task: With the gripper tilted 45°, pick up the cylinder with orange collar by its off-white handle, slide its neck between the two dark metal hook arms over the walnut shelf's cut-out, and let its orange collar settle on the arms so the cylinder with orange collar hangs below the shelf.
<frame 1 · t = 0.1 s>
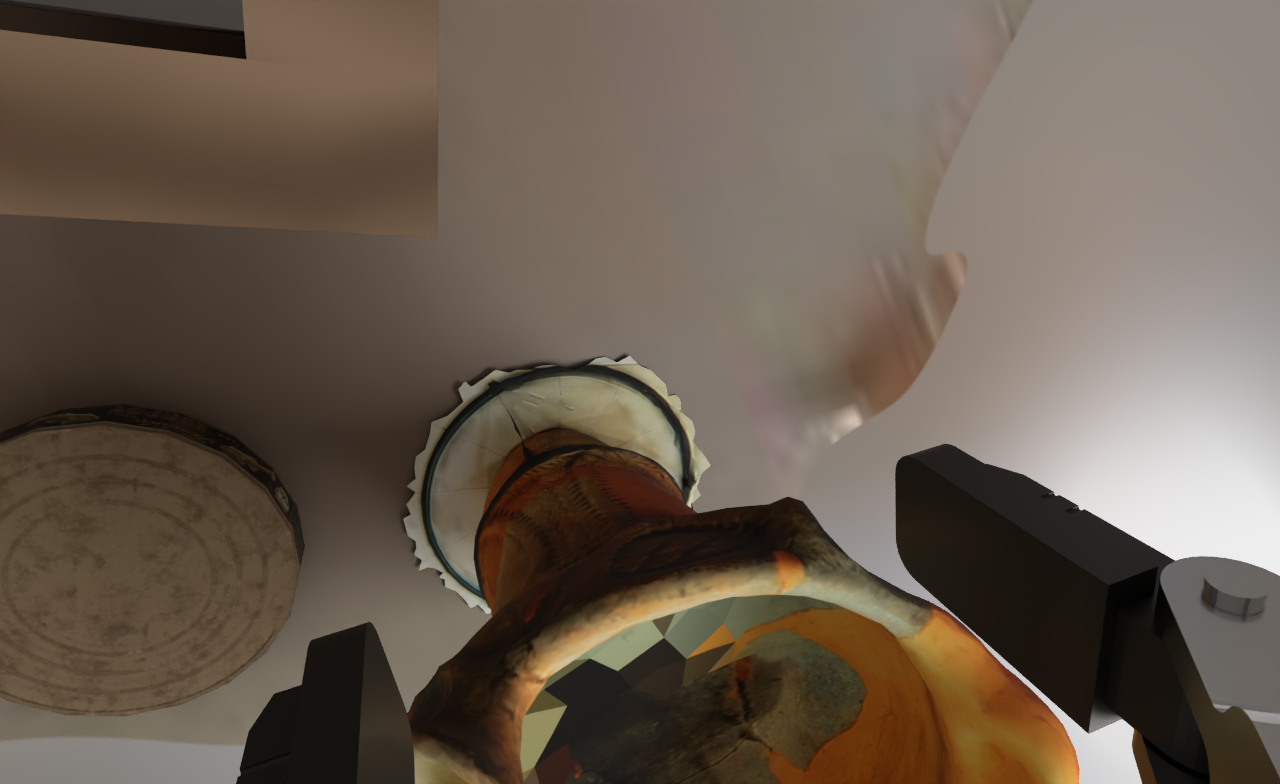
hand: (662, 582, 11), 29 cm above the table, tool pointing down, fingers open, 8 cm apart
decorative vase: (565, 492, 43), on the table
wood slice: (135, 545, 37), on the table
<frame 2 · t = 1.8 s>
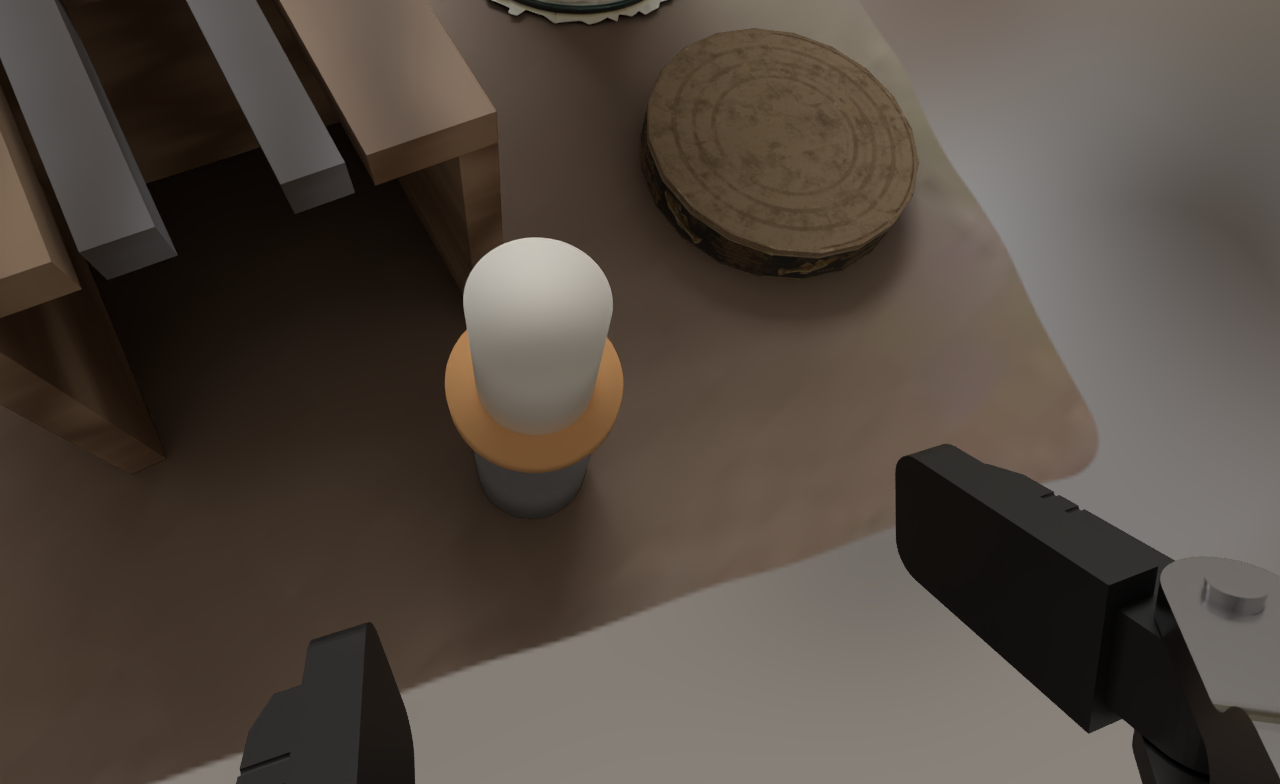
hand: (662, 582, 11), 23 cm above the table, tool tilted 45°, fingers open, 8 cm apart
hook shelf: (269, 255, 36), on the table
cylinder with orange collar: (532, 466, 34), on the table
wood slice: (767, 170, 44), on the table
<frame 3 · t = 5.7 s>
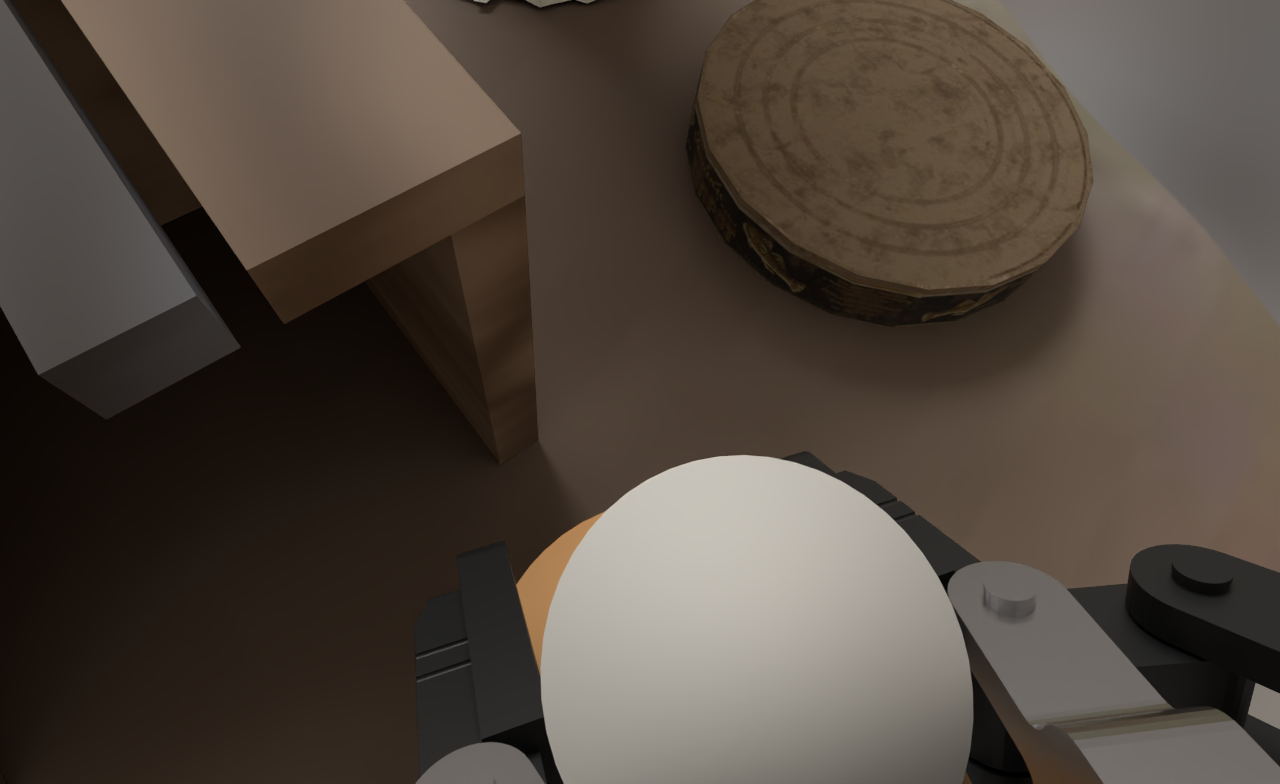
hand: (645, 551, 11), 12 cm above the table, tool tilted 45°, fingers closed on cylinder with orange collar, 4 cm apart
hook shelf: (161, 406, 23), on the table
cylinder with orange collar: (620, 694, 21), on the table, touching gripper
wood slice: (865, 171, 31), on the table
when the fingers open (17 cm above the table, at t = 12.5 s): cylinder with orange collar stays where it is, resting on hook shelf.
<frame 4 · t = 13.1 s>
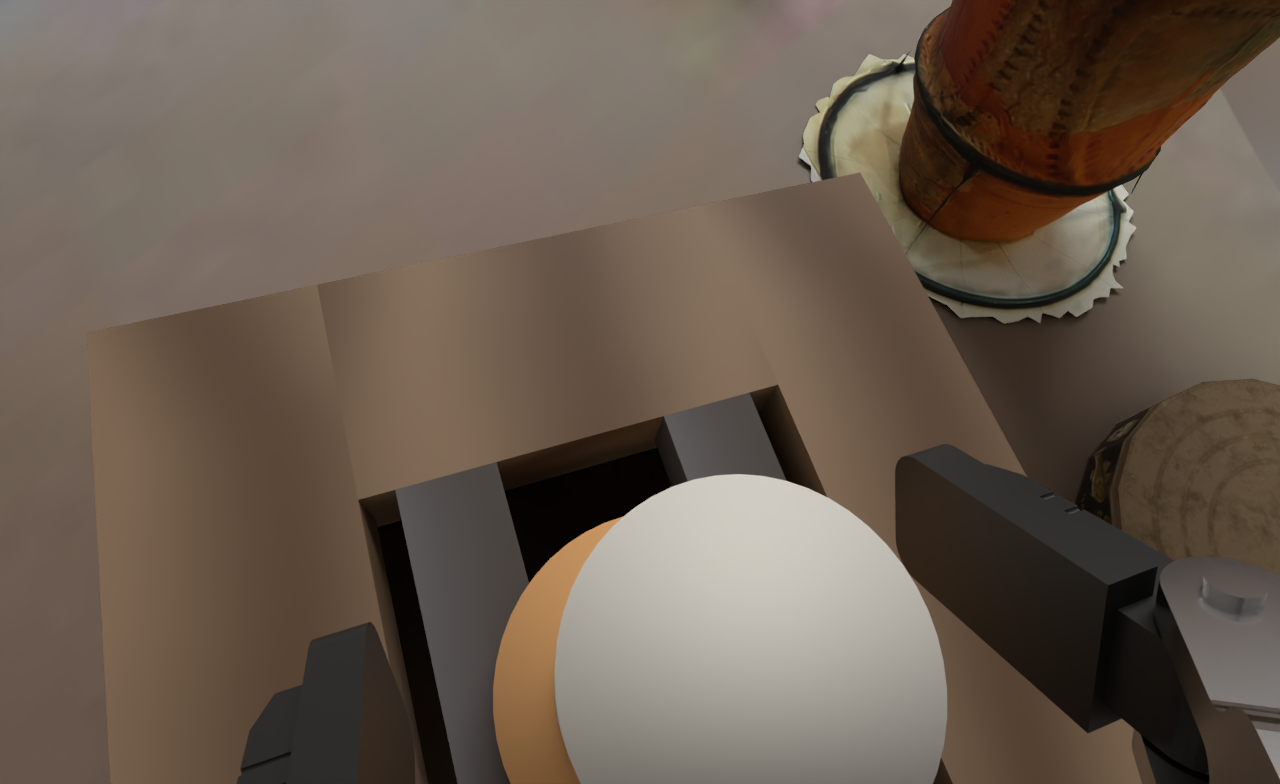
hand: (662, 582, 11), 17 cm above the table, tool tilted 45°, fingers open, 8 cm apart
hook shelf: (591, 642, 27), on the table
decorative vase: (965, 178, 38), on the table
cylinder with orange collar: (620, 696, 22), point 4 cm above the table, touching hook shelf
wood slice: (1243, 576, 31), on the table
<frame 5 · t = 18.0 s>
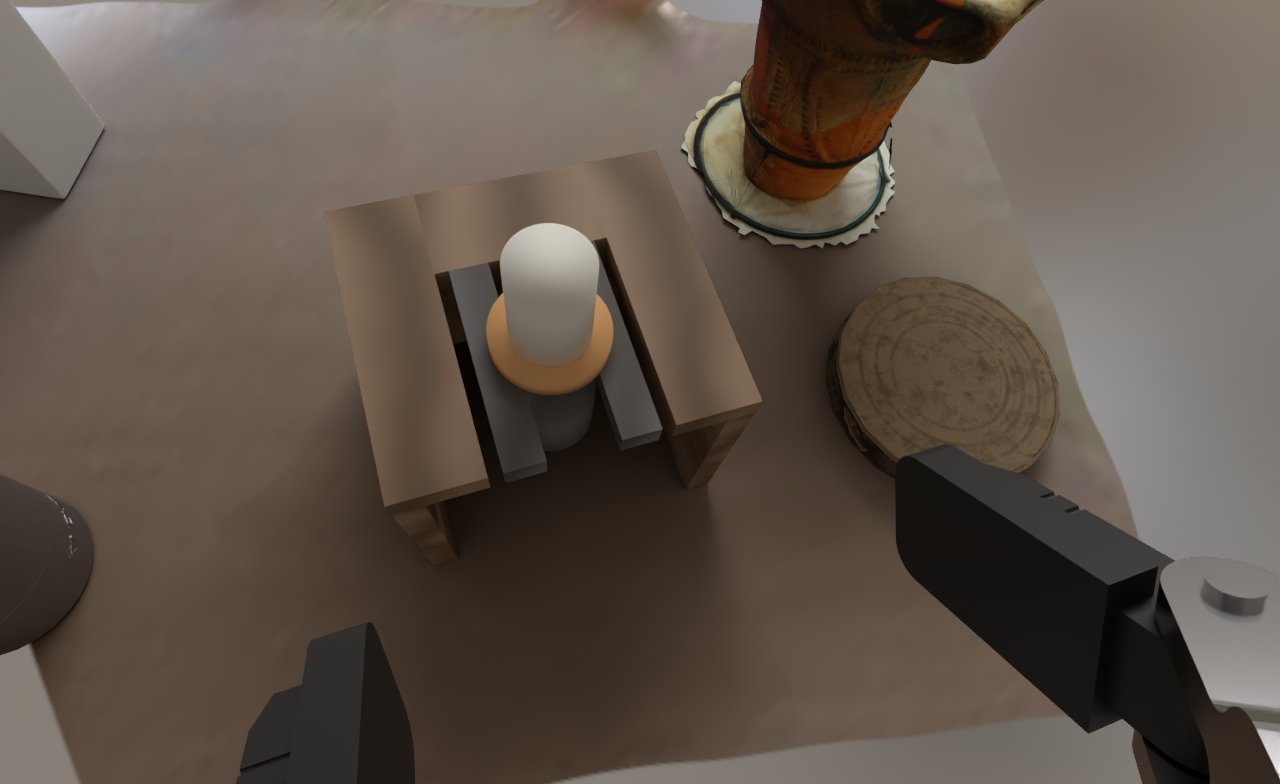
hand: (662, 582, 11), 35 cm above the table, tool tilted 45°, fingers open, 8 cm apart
hook shelf: (542, 411, 49), on the table
milk carton: (38, 157, 52), on the table
decorative vase: (789, 161, 60), on the table
cylinder with orange collar: (551, 412, 44), point 4 cm above the table, touching hook shelf
wood slice: (928, 392, 53), on the table
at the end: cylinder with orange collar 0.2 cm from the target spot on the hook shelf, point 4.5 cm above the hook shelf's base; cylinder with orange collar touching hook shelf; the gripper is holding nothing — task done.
